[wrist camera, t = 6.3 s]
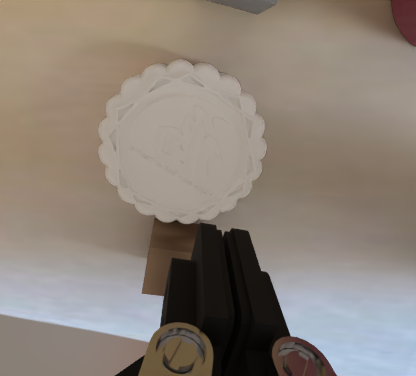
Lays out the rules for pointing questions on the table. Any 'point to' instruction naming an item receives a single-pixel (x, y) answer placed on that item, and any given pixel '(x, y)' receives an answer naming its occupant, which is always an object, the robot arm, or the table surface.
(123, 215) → the table surface
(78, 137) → the table surface
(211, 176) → the mooncake
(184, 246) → the walnut block
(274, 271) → the table surface
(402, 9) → the plant pot
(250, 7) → the slate-grey block
